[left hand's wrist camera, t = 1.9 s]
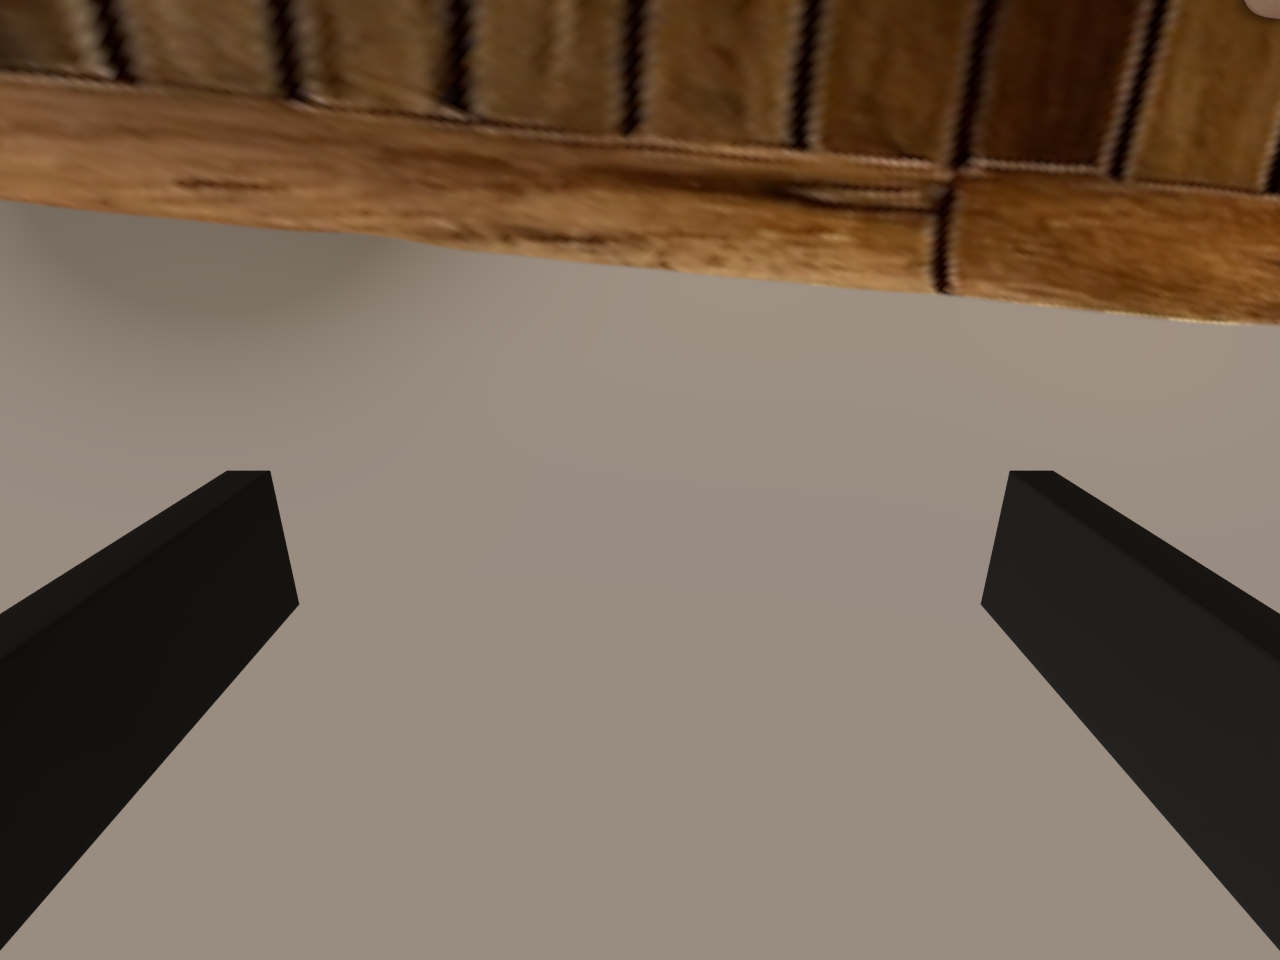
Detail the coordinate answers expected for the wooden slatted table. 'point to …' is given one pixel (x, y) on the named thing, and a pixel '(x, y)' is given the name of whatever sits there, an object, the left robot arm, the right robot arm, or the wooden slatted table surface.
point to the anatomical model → (1265, 7)
